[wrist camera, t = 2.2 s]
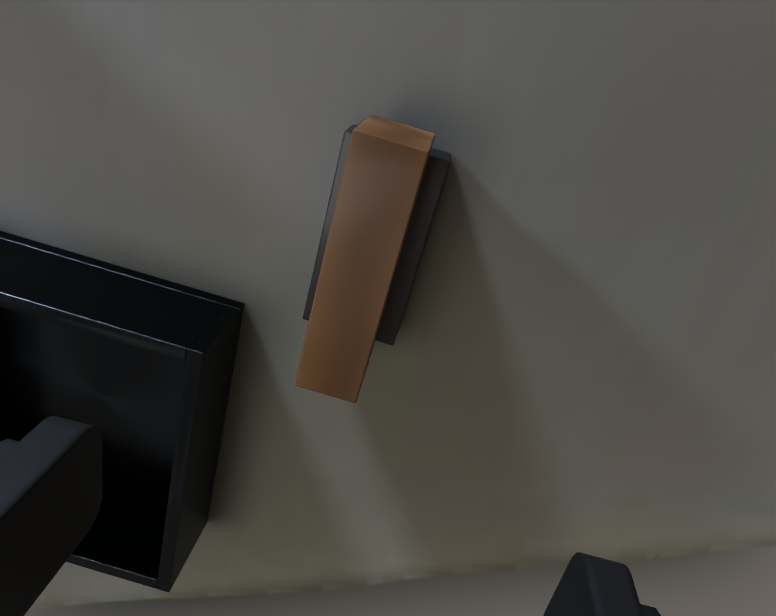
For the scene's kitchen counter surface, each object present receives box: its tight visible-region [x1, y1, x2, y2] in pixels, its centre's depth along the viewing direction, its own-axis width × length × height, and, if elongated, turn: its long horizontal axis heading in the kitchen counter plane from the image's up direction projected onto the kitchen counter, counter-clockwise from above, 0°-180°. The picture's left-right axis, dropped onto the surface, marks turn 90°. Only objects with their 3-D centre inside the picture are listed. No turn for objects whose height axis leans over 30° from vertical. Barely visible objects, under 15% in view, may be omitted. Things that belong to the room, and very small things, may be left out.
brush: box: [295, 115, 451, 403], centre depth 28 cm, size 5×12×6 cm, turn 165°
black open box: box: [0, 231, 244, 592], centre depth 35 cm, size 16×18×6 cm
